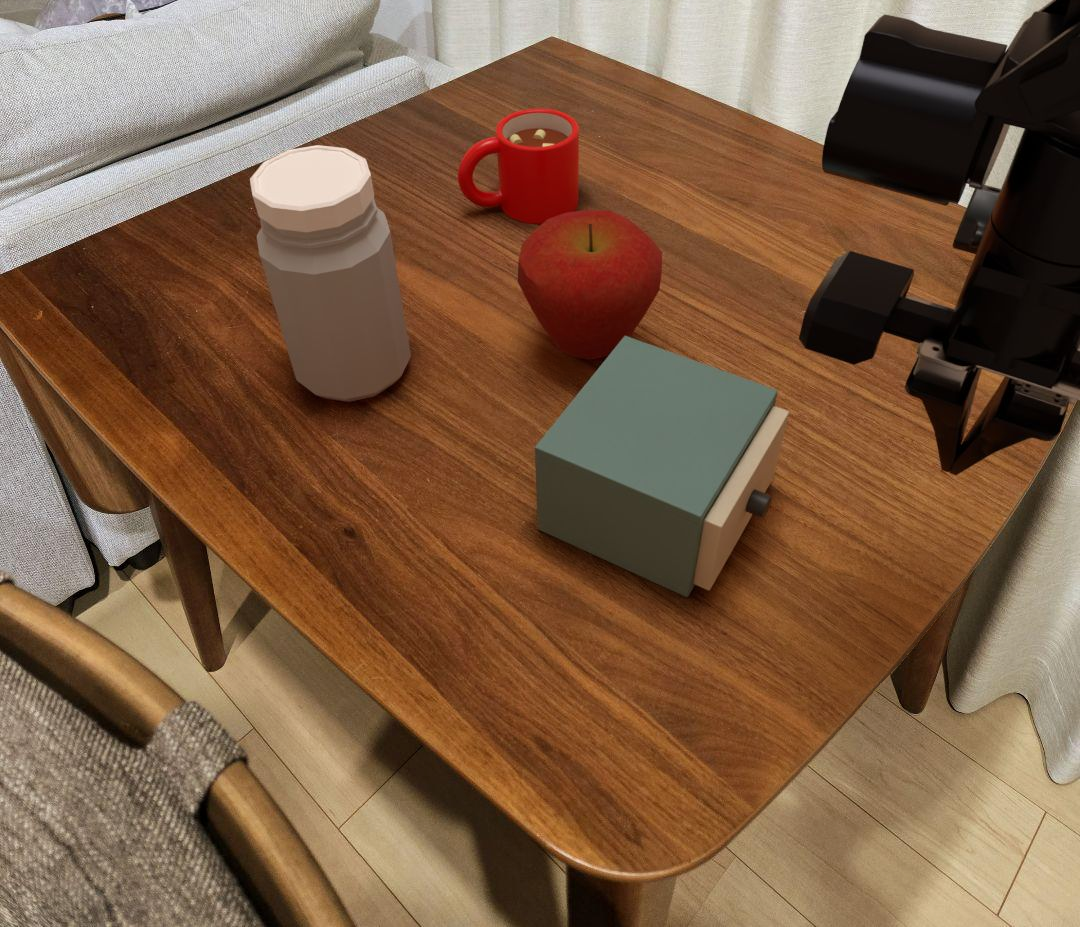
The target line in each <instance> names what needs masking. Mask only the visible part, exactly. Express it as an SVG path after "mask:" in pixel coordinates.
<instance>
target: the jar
mask: <svg viewBox="0 0 1080 927" xmlns="http://www.w3.org/2000/svg"><path fill="white" fill-rule="evenodd" d="M249 183H250V189H251V194H252V199H253V202H254V206H255V209H256V213H257V216H258V218H259V222H260V227H261V228H260V229H259V230H258V233H257V235H256V242H257V248H258V254H259V255H258V256H259V258H260V262H261V265H262V268H263V272H264V277H265V279H266V283H267V286H268V290H269V292H270V295H271V296H270V297H271V300H272V303H273V305H274V309H275V312H276V316H277V320H278V323H279V326H280V330H281V332H282V336H283V340H284V343H285V345H286V349H287V350H286V351H287V353H288V356H289V360H290V364H291V368H292V370H293V374H294V377H295V380H296V381H297V382H298V383H299V384H301V386H303V387H304V388H306V389H308V390H309V392H311V393H313V394H314V395H315V396H318V397H320V398H323V399H327V400H334V401H340V402H347V403H351V402H356V401H360V400H364V399H370V398H373V397H376V396H378V395H379V394H381V393H382V392H384V391H385V390H387V389H388V388H390V387H391V386H392V385H394V384H396V383H397V381H398V380H399V379H400V378H402V375H403V373H404V372H405V369H406V367H407V365H408V364H409V361H410V359H411V357H412V352H411V347H410V340H409V336H408V329H407V324H406V318H405V317H406V316H405V311H404V305H403V299H402V293H401V287H400V280H399V274H398V269H397V264H396V263H397V262H396V258H395V250H394V246H393V240H392V234H391V229H390V226H389V222H388V220H387V216H386V214H385V212H384V211H382V210H381V209H380V208H379V207H378V206H377V204H376V201H375V191H374V186H373V180H372V174H371V171H370V168H369V165H368V161H367V159H366V158H365V157H363V156H361V155H359V154H357V153H356V152H354V151H352V150H350V149H349V148H345V147H339V146H330V145H320V144H316V145H310V146H304V147H298V148H292V149H288V150H286V151H284V152H282V153H279V154H277V155H275V156H273V157H271V158H269V159H267V160H265V161H263V162H262V164H260V166H259V167H258V168H257V169H256V171H255V172H254V173H253V174H252V176H251V177H250V178H249Z"/></svg>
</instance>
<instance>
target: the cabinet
mask: <svg viewBox="0 0 1080 927" xmlns="http://www.w3.org/2000/svg"><path fill="white" fill-rule="evenodd" d="M778 393H779V390H778V389H776V388H773V387H770V386H768V385H765V384H762V383H759V382H756V381H754V380H751V379H749V378H745V377H742V376H739V375H737V374H734V373H731V372H729V371H727V370H726V371H725V370H723V369H721V368H717V367H715V366H711V365H709V364H706V363H703V362H700V361H697V360H694V359H692V358H689V357H687V356H683V355H680V354H679V353H676V352H672V351H670V350H667V349H664V348H661V347H658V346H656V345H653V344H650V343H647V342H644V341H641V340H639V339H636V338H634V337H631V336H630V337H628V336H624V337H623V339H622V340H621V341H620V342H619V343H618V345H617V346H616V347H615V348H614V350H613V351H612V352H611V353H610V355H609V356H608V357H605V359H604V361H603V362H602V363H601V365H599V367H598V368H597V370H596V371H595V372H594V373H593V374H592V376H591V377H590V378H589V379H588V380H587V381H586V382H585V384H584V385H583V387H582V388H581V389H580V390H579V391H578V392H577V394H576V395H575V397H574V398H573V399H572V400H571V402H570V403H569V404H568V405H567V407H566V408H565V409H564V410H563V412H562V413H561V414H560V415H559V416H558V418H557V419H556V420H555V421H554V423H553V424H552V425H551V426H550V428H549V429H548V430H547V431H546V433H545V434H544V435H543V436H542V437H541V439H540V440H539V441H538V443H537V444H535V446H534V464H535V488H536V489H535V490H536V491H535V492H536V493H535V494H536V512H537V513H536V516H537V530H538V531H540V532H543V533H544V534H547V535H550V536H552V537H553V538H556V539H558V540H560V541H562V542H564V543H567V544H569V545H571V546H573V547H575V548H578V549H580V550H582V551H584V552H586V553H589V554H591V555H593V556H595V557H597V558H599V559H602V560H604V561H606V562H609V563H610V564H613V565H615V566H617V567H619V568H621V569H624V570H626V571H629V572H630V573H633V574H635V575H636V576H639V577H641V578H643V579H646V580H648V581H650V582H652V583H654V584H657V585H659V586H661V587H663V588H665V589H667V590H670V591H672V592H674V593H676V594H679V595H680V596H683V597H685V598H688V597H689V596H690V594H691V593H692V591H693V589H694V587H695V586H696V585H695V584H693V581H694V575H695V569H696V563H697V557H698V552H699V546H700V540H701V534H702V528H703V522H704V517H705V515H706V513H707V512H708V510H709V508H710V507H711V505H712V504H713V502H714V500H715V499H716V497H717V495H718V494H719V492H720V490H721V489H722V487H723V485H724V484H725V482H726V480H727V479H728V477H729V476H730V474H731V472H732V471H733V469H734V467H735V466H736V464H737V462H738V461H739V459H741V458H742V456H743V454H744V453H745V451H746V449H747V448H748V446H749V444H750V443H751V441H752V440H753V438H754V436H755V435H756V433H757V431H758V430H759V428H760V426H761V425H762V423H763V421H764V420H765V418H766V416H767V415H768V413H769V411H770V410H771V408H772V407H773V406H776V402H777V398H778Z"/></svg>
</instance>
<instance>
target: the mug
mask: <svg viewBox="0 0 1080 927" xmlns="http://www.w3.org/2000/svg"><path fill="white" fill-rule="evenodd" d="M493 154H496V156H497V170H498V171H497V172H498V187H499V189H498V190H495V191H483V190H481V189H479V188H478V187H477V186H476V185H475V182H474V179H473V178H474V177H473V175H474V173H475V169H476V167H477V166H478V164H479V163H480V162H481V161H483V159H484V158H486V157H488V156H489V155H493ZM579 154H580V129H579V124H578V122H577V120H575V119H574V118H573V117H572V116H570V114H567V113H565V112H562V111H559V110H556V109H552V108H551V109H550V108H528V109H522V110H519V111H516V112H513V113H509V114H508V115H506V116H505V117H504V118H502V119H500V121H499V122H498V124H496V128H495V136H492V137H487V138H485V139H482V140H480V141H478V142H476V143H475V144H473V145H472V146H471V147H470V148H469V149H468V150H467V151H466V152H465V154H464V155H463V157H462V159H461V160H460V163H459V165H458V170H457V182H458V187H459V190H460V191H461V194H462V195H463V196H464V198H465V199H466V200H468V201H469V202H470V203H472V204H474V205H476V206H479V207H483V208H495V207H496V208H497V207H501V210H502V211H503V213H504V214H505V215H507V216H508V217H509V218H511V219H513V220H514V221H515V220H516V221H519V222H522V223H526V224H539V225H541V224H543V223H544V222H545V221H546V220H547V219H550V218H552V217H555V216H558V215H560V214H563V213H567V212H575V211H576V209H577V207H578V205H579V186H580V184H579V179H580V178H579V176H580V175H579V174H580V173H579V172H580V171H579V170H580V167H579V166H580V165H579V164H580V155H579Z"/></svg>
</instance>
